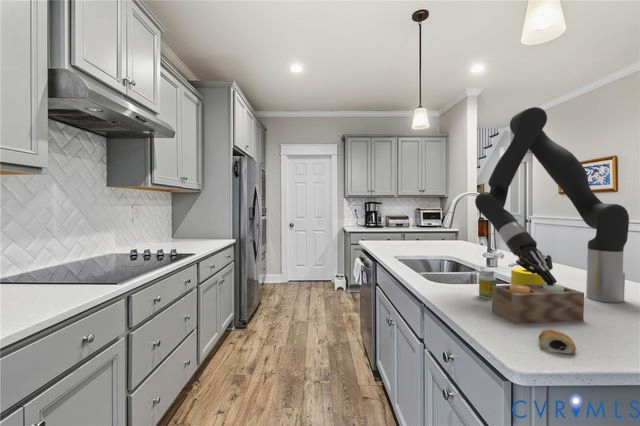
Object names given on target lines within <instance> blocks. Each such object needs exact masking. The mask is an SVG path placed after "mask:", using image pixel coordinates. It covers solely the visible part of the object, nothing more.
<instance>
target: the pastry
mask: <svg viewBox="0 0 640 426" xmlns="http://www.w3.org/2000/svg"><path fill="white" fill-rule="evenodd" d="M538 340H539V346H540V348H541V349H542V350H543V351H547V352H550V353H551V352H552V353H555V354H556V353H558V354H561V355H562V354H564V355H574V353H575V352H576V350H577V347H576V343H574V340H573V339H572V338H571V337H570V336H568V335H567V334H565V333H564V332H561V331H558V330H557V331H556V330H553V329H545V330H542V331H541V332H540V334H539V336H538Z"/></svg>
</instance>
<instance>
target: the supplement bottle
mask: <svg viewBox="0 0 640 426" xmlns="http://www.w3.org/2000/svg"><path fill="white" fill-rule="evenodd" d="M494 275H495V270H493V269H488V268H487V269H486V268H485V269H484V268H483V269H481V275H479V277H478V285H479V286H478V296H479V297H480V298H481V299H486V300H492V286H497V277H496V276H494Z"/></svg>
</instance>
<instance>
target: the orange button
mask: <svg viewBox="0 0 640 426" xmlns="http://www.w3.org/2000/svg"><path fill="white" fill-rule="evenodd" d="M509 285H510V290H511V291H514V292H517V293H530V287H528V286H524V285H516V284H513V285H511V284H509Z"/></svg>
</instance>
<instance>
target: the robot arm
mask: <svg viewBox="0 0 640 426" xmlns="http://www.w3.org/2000/svg"><path fill="white" fill-rule="evenodd" d="M547 121H548V115H547V113H546V111H545V109H543V108H542V107H539V106H531V107H527V108H525V109H522V110H521V111H519V112H517V113H516V114H515V115H513V117H512V118H511V119H510V122H509V127H510V131H511V132H512V134H513V138H512V140H511V141H510V144H509V145H508V147H507V149H506V150H505V152H504V153H503V154H502V155H501V157H500V158H499V160H498V161H497V163H496V165H495V167H494V168H493V171H492V172H491V174H490V177H489V179H488V183H487V184H488V186H489V189H490V190H489V192H487V191H484V192H483V191H482V192H480V193H479V194H477V195H476V198H475V200H474V202H475V203H474V204H475V207H476V209H477V210H478V211H479V212H480V213H481V215H483V216H484V218H485V219H486V220H488V221H489V222H490V223H491V224H492V226H493V228H494V230H495V231H496V232H497V233H498V235H499V236H500V238H501V240H502V241H503V242H504V244H505V245H506V246H507V247H508V249H509V251H510V252H511V253H512V254H513V256H516V257H518V258H517V260H516V261H515V263H516V264H517V265H519V266H520V267H521V268H525V269H526V270H528V271H529V272H531V273H532V274H535V273H537V275H540V276H541V277H542V279H543V280H544V281H545V284H546V283H547V285H554V284H557V279H556V277H554V276H553V273H551V272H550V271H551V270H552V269H554V268H553V261H552V256H551V255H549V254H548V255H544V254H543V253H542V252H541V251H540V249H537V245H538V243H537V241H536V240H535V239H534V237H532V236H531V234H530V233H529V232H528V230H527V229H525V227H524V225H522V224H521V223H520V222H519V221H518V220H517V219H516V218H515V216H514V215H513V214H512V213H511V212H510V211H508V210H507V209H505V206H506V202H507V198H508V193H509V188H510V186H511V184H512V183H513V180H514V178H515V176H516V173H517V172H518V170H519V167H520V165H521V164H522V162H523V160H524V158H525V156H526V154H527V153H528V151H529V152H531V153H532V155H533V156H534V157H535V158H536V159H537V161H538V163H539V164H540V165H541V166H542V168H544V170H545V171H546V173H547V174H548V175H549V176H550V177H551V179H552V180H553V182H555V184H556V185H557V186H558V188H560V190H561V191H562V192H563V193H564V194H565V196H566V197H567V198H568V199H569V201H570V202H571V203H572V205H573V206H574V208H575V209H576V210H577V213H578V214H579V216H580V217H581V219H582V220H583V222H584V223H585V224H586V225H587V226H588V227H590V228H592V229H595V230H596V232H595V236H594V237H593V238H591V239H590V240H588V241H587V260H586V261H587V262H586V292H585V293H586V295H585V296H586V297H587V298H589V299H590V300H591V299H592V300H595V301H598V302H599V301H600V302H606V303H617V304H618V303H622V302H623V301H625V290H626V289H625V286H626V284H625V283H626V281H625V280H626V274H625V272H624V248H625V246H626V244H627V242H628V238H629V237H628V236H629V228H630V227H629V226H630V225H629V224H630V217H629V213H628V210H627V209H626V208H625V207H624V206H622V205H620V204H617V203H603V202H602V201H601V200H600V198H598V196H596V194H595V193H594V192H593V190H592V188H591V187H590V183H589V178H588V174H587V171H586V169H585V167H584V166H583V164H582V162H580V161H579V160H578V158H577V157H576V156H575V154H573V153H572V152H571V151H569V150H568V149H566V148H565V147H563V146H562V145H560V144H558V143H557V142H556V141H554V140H552V139H551V137H549V136H548V135H547V134H546V132H545V131H544V130H543V129H544V128H545V126H546V125H547Z"/></svg>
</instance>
